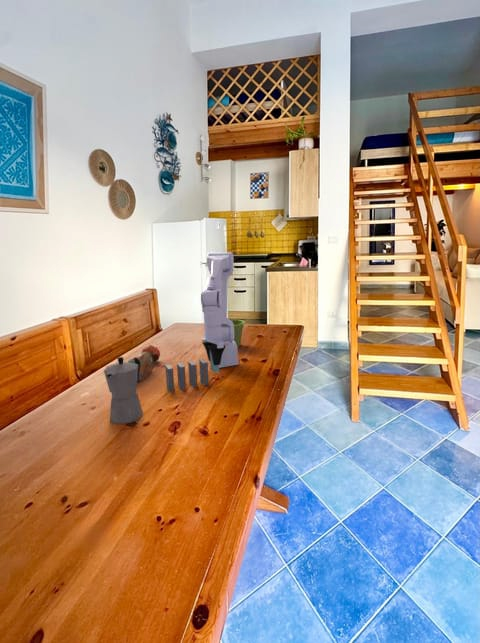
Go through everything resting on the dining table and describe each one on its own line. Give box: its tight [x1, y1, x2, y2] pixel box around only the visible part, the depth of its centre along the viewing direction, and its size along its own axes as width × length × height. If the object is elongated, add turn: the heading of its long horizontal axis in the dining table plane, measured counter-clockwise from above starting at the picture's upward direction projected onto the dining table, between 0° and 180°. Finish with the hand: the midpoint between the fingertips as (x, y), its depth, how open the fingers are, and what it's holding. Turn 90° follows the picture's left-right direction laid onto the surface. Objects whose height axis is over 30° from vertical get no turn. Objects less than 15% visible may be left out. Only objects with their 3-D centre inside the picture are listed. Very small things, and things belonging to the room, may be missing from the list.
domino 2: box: [176, 362, 187, 391], centre depth 128 cm, size 2×4×8 cm, turn 23°
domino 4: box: [198, 358, 210, 386], centre depth 132 cm, size 2×4×8 cm, turn 23°
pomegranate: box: [141, 344, 161, 363], centre depth 155 cm, size 7×7×10 cm
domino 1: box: [164, 364, 176, 393], centre depth 127 cm, size 2×4×8 cm, turn 23°
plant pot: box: [230, 319, 246, 348], centre depth 173 cm, size 12×12×11 cm
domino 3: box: [187, 360, 199, 388], centre depth 130 cm, size 2×4×8 cm, turn 23°
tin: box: [133, 351, 154, 382], centre depth 140 cm, size 15×3×8 cm, turn 168°
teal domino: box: [209, 352, 220, 374], centre depth 132 cm, size 2×4×8 cm, turn 23°
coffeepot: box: [103, 356, 144, 425], centre depth 108 cm, size 15×9×18 cm, turn 163°
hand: (214, 362), depth 132 cm, fingers closed on teal domino, 4 cm apart
